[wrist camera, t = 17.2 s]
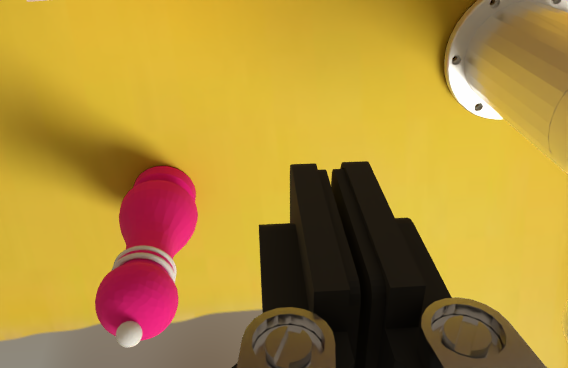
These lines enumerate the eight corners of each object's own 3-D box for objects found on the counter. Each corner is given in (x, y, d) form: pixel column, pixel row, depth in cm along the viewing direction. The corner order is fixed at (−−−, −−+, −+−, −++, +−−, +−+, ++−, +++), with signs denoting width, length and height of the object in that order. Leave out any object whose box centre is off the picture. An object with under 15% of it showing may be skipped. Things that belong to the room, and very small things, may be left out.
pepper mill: (130, 155, 49) (70, 299, 32) (204, 166, 50) (185, 309, 33) (127, 216, 52) (71, 375, 35) (196, 224, 54) (175, 382, 36)
